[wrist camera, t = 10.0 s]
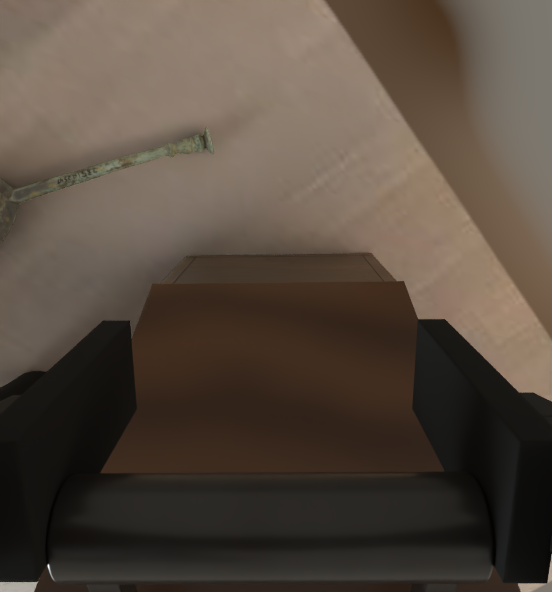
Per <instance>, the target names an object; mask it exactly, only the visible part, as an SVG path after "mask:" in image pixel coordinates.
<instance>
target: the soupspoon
mask: <svg viewBox="0 0 552 592" xmlns="http://www.w3.org/2000/svg"><path fill="white" fill-rule="evenodd" d="M205 148H207V149H208V150H209V151H210V153H211V154H214V151H213V145H212V141H211V137H210V134H209V131H208V128H207V127H206V128H205V132H204V135H203V136H201V135H199V134H197V135H195V136H194V137H193V138H187V139H183V140H180V141H179V142H178V143H176V144H173V143H168V144H167V145H166V146H163V147H159V148H155V149H151V150H147V151H143V152H139V153H136V154H132V155H128V156H125V157H121V158H118V159H114V160H111V161H107V162H104V163H101V164H98V165H94V166H91V167H88V168H85V169H81V170H78V171H75V172H72V173H68V174H65V175H61V176H57V177H54V178H50V179H47V180H43V181H40V182H36V183H33V184H30V185H26V186H23V187H20V188H16V189H13V188H12V187H11V186H9V185H8V184H7V183H5V182H4V181H3V180H1V179H0V244H1V242H2V241H3V240H4V239H5V237H6V236H7V234H8V232H9V230H10V228H11V226H12V225H13V222H14V220H15V217H16V213H17V209H18V205H19V204H20V203H22V202H24V201H27V200H30V199H33V198H35V197H38V196H42V195H44V194H48V193H50V192H53V191H56V190H60V189H63V188H65V187H69V186H72V185H76V184H78V183H82V182H85V181H87V180H90V179H94V178H97V177H100V176H102V175H105V174H109V173H111V172H114V171H117V170H120V169H124V168H127V167H130V166H134V165H137V164H141V163H144V162H147V161H151V160H154V159H157V158H160V157H163V156H170V157H174V156H175V154H177V153H180V154H181V153H182V154H189V153H192V152H194V151H199V152H202V151H203V150H204V149H205Z"/></svg>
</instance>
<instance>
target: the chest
mask: <svg viewBox="0 0 552 592" xmlns="http://www.w3.org/2000/svg"><path fill="white" fill-rule="evenodd" d="M377 281H396V280H395V278H394V277H393V276H392V275H391V274H390V273H389V272H388V271H387V270H386V269H385V268H384V267H383V265H382V264H381V263H380V262H379V261H378V260H377V259H376V258H375V257H374V255H373V254H289V255H199V256H186V257H185V258H184V259H183V260H182V261H181V262H180V263H179V264H178V265H177V266H176V267H175V268H174V269H173V271H172V272H171V273H170V274H169V275H168V276H167V277H166V278H165V279H164V280H163V281H162V282H161V283H160V284H184V283H280V282H377Z"/></svg>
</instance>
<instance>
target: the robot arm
mask: <svg viewBox="0 0 552 592" xmlns="http://www.w3.org/2000/svg"><path fill="white" fill-rule="evenodd" d="M412 409H413V411H414V413H415V415H416V417H417V419H418V421H419V423H420V424H421V426H422V428H423V430H424V432H425V434H426V436H427V438H428V440H429V442H430V444H431V446H432V448H433V449H434V451H435V453H436V455H437V457H438V459H439V461H440V463H441V465H442V467H443V469H444V471H445V472H450V471H465V472H469V473H471V474H473V475H474V476H475V477H476V479H477V480H478V482H479V483H480V485H481V487H482V489H483V492H484V494H485V497H486V500H487V503H488V507H489V510H490V515H491V520H492V526H493V533H494V567H495V569H496V571H497V573H498V575H499V577H500V578H501V580H502V582H503V583H547V581H548V574H549V567H550V561H551V554H552V402H551V401H549V400H547V399H545V398H543V397H541V396H539V395H537V394H535V393H519V392H518V391H517V390H516V389H515V388H514V387H513V386H512V385H511V384H510V383H509V382H508V381H507V380H506V379H505V378H504V377H503V376H502V375H501V374H500V373H499V372H498V371H497V370H496V369H495V368H494V367H493V366H492V365H491V364H490V363H489V362H488V361H487V360H486V359H485V358H484V357H483V356H482V355H481V354H480V353H479V352H477V351H476V350H475V349H474V348H473V347H472V346H471V345H470V344H469V343H468V342H467V341H466V340H465V339H464V338H463V337H462V336H461V335H460V334H459V333H458V332H457V331H456V330H455V329H454V328H453V327H452V326H451V325H450V324H449V323H448V322H447V321H446V320H445V319H418V325H417V341H416V356H415V372H414V388H413V404H412ZM136 410H137V402H136V389H135V377H134V365H133V352H132V340H131V327H130V321H102V322H101V323H100V324H99V325H98V326H97V327H96V328H94V329H93V330H92V331H91V332H90V333H89V334H88V335H87V336H86V337H85V338H83V339H82V340H81V341H80V342H79V343H78V344H77V345H76V346H75V347H74V348H72V349H71V350H70V351H69V352H68V353H67V354H66V355H65V356H64V357H63V358H61V359H60V360H59V361H58V362H57V363H56V364H55V365H54V366H53V367H52V368H50V369H49V370H48V371H47V372H46V373H45V374H44V375H43V376H42V377H41V378H39V379H38V380H37V381H36V382H35V383H34V384H33V385H32V386H31V387H30V388H28V389H27V390H26V391H25V392H24V393H23V394H22V395H12V396H10V397H8V398H6V399H4V400H2V401H0V582H37V581H38V580H39V578H40V576H41V574H42V573H43V571H44V569H45V567H46V566H47V534H48V526H49V521H50V516H51V512H52V508H53V505H54V502H55V499H56V496H57V494H58V492H59V490H60V488H61V486H62V485H63V483H64V482H65V481H66V479H67V478H69V477H70V476H72V475H74V474H78V473H100V472H101V470H102V469H103V467H104V465H105V464H106V462H107V460H108V458H109V457H110V455H111V453H112V451H113V450H114V448H115V446H116V445H117V443H118V441H119V439H120V438H121V436H122V434H123V432H124V431H125V429H126V427H127V425H128V424H129V422H130V420H131V419H132V417H133V415H134V413H135V412H136Z"/></svg>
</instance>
